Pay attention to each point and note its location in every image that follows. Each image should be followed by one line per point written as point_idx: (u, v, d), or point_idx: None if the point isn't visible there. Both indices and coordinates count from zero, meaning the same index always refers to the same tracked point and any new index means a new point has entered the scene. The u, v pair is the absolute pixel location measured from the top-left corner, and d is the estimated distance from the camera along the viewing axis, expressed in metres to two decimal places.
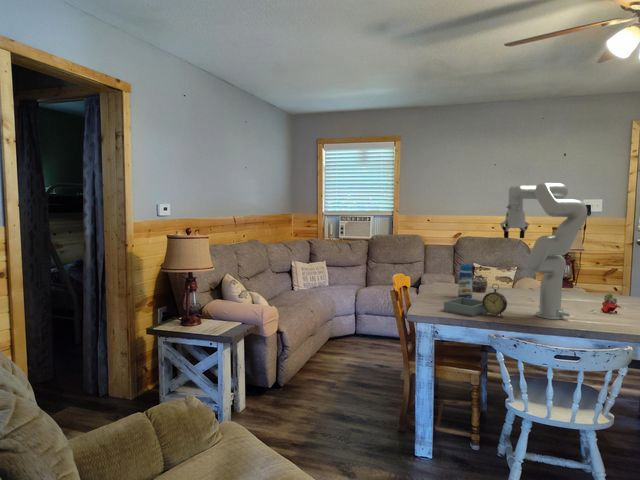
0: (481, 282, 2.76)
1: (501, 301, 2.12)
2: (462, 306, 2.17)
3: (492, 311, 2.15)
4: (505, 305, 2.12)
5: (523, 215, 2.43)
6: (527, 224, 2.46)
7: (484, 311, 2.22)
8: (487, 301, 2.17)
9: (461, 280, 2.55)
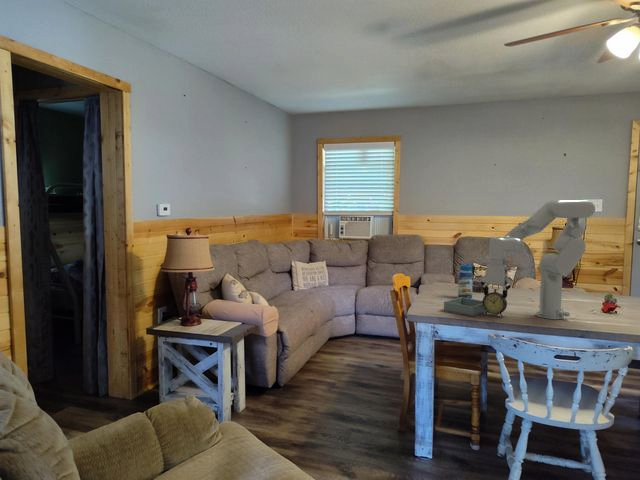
0: None
1: (501, 301, 2.12)
2: (462, 306, 2.17)
3: (492, 311, 2.15)
4: (505, 305, 2.12)
5: None
6: None
7: (484, 311, 2.22)
8: (487, 301, 2.17)
9: (461, 280, 2.55)
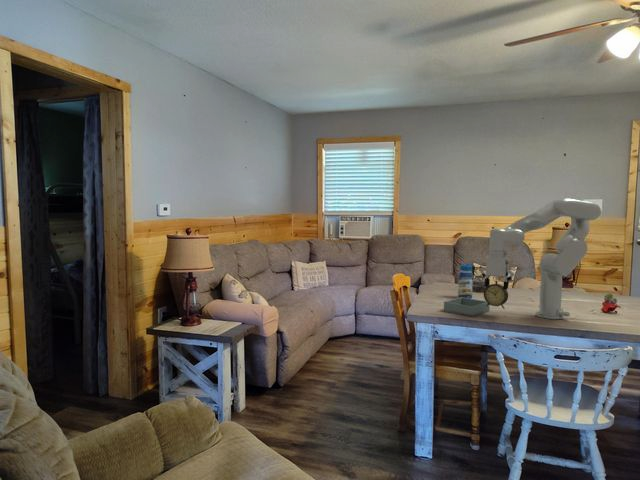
0: (481, 282, 2.76)
1: (502, 293, 2.12)
2: (462, 306, 2.17)
3: (493, 303, 2.15)
4: (506, 296, 2.11)
5: None
6: None
7: (484, 311, 2.22)
8: (488, 293, 2.16)
9: (461, 280, 2.55)
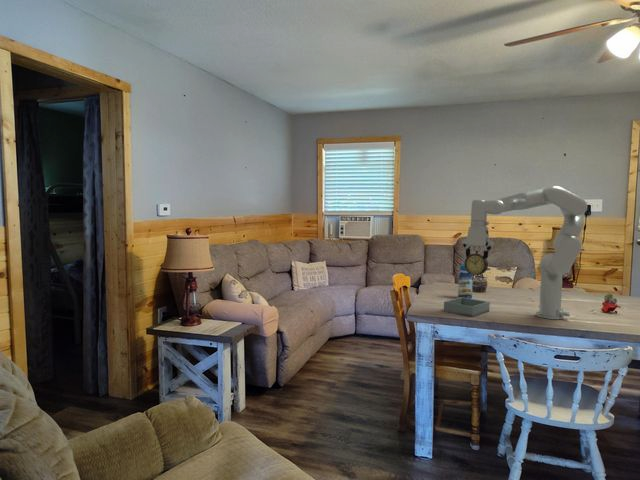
0: (481, 282, 2.76)
1: (482, 262, 2.17)
2: (462, 306, 2.17)
3: (473, 272, 2.20)
4: (486, 266, 2.16)
5: None
6: None
7: (484, 311, 2.22)
8: (469, 262, 2.21)
9: (461, 280, 2.55)
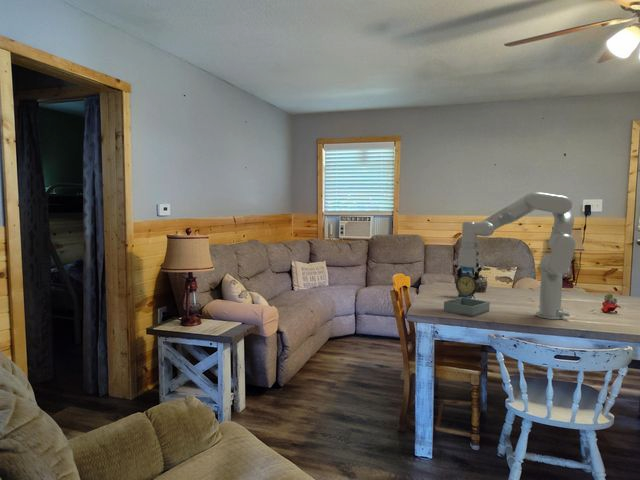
0: (481, 282, 2.76)
1: (473, 283, 2.20)
2: (462, 306, 2.17)
3: (465, 293, 2.23)
4: (477, 287, 2.20)
5: None
6: None
7: (484, 311, 2.22)
8: (460, 283, 2.25)
9: None
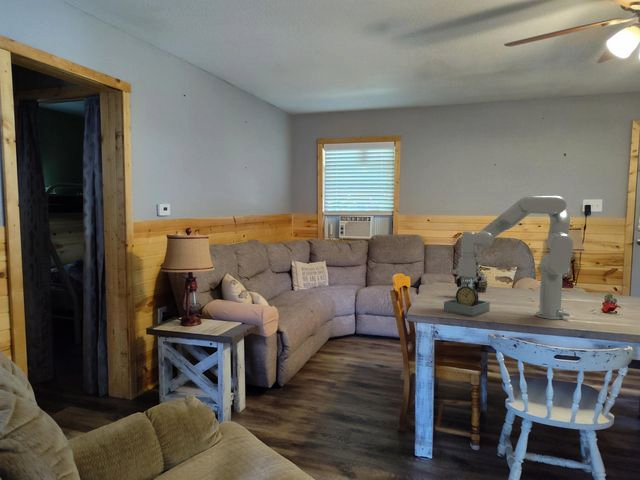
0: (481, 282, 2.76)
1: (473, 294, 2.21)
2: (462, 306, 2.17)
3: (465, 304, 2.24)
4: (476, 298, 2.20)
5: None
6: None
7: (484, 311, 2.22)
8: (460, 295, 2.26)
9: (461, 280, 2.55)
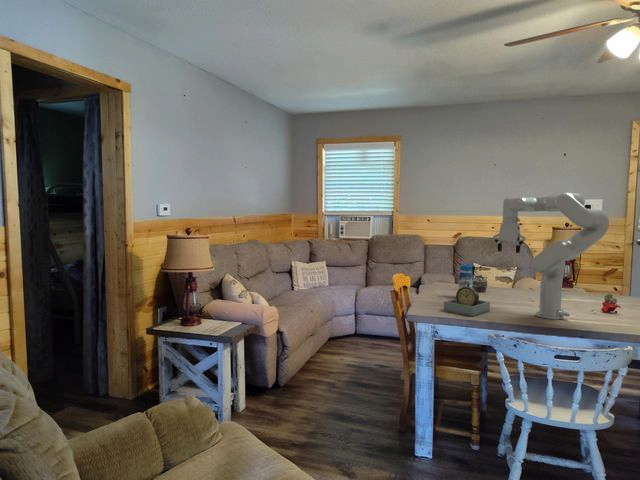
0: (481, 282, 2.76)
1: (473, 295, 2.21)
2: (462, 306, 2.17)
3: None
4: (477, 299, 2.20)
5: None
6: None
7: (484, 311, 2.22)
8: (460, 295, 2.25)
9: (461, 280, 2.55)
